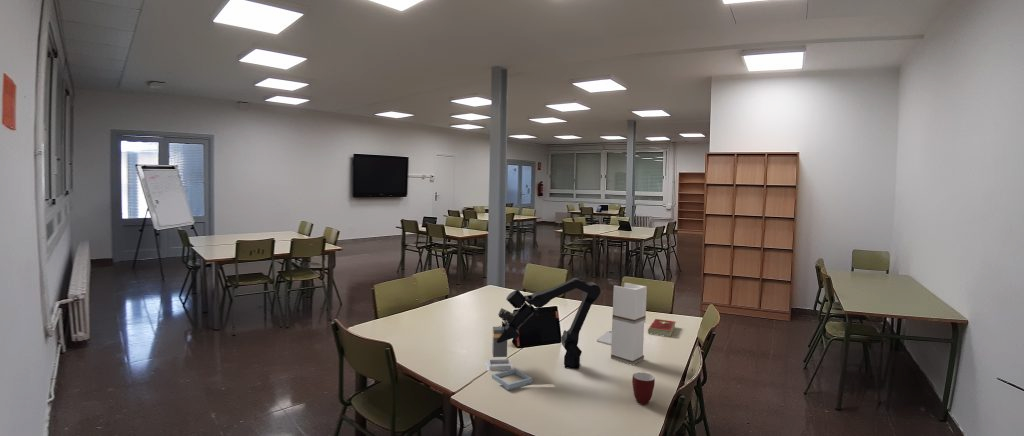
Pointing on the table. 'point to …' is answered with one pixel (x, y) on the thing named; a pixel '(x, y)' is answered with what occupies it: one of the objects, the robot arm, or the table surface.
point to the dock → (498, 364)
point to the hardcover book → (662, 327)
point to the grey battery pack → (498, 348)
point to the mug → (643, 387)
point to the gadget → (606, 338)
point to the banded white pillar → (628, 323)
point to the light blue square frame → (515, 384)
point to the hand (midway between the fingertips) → (496, 340)
